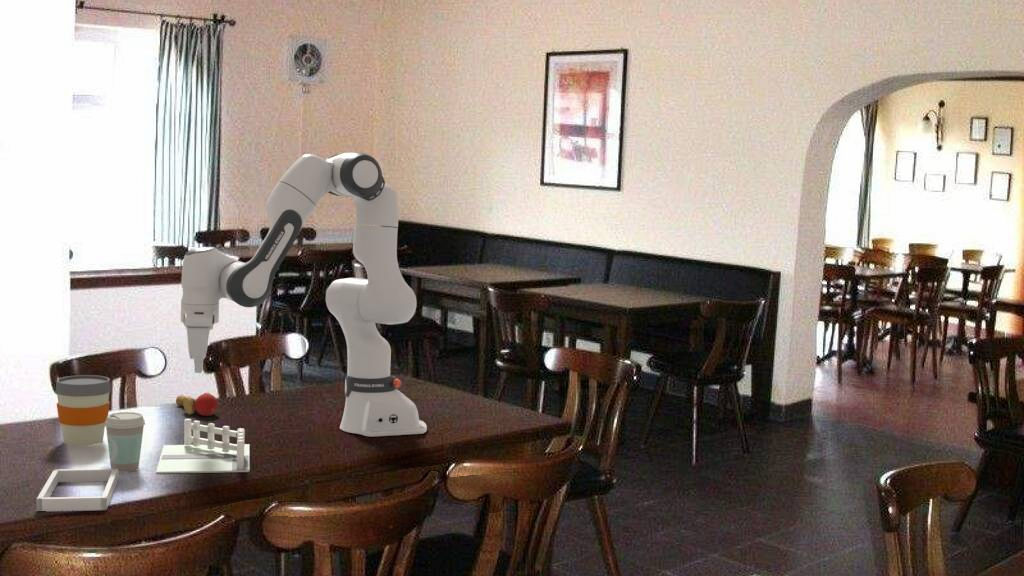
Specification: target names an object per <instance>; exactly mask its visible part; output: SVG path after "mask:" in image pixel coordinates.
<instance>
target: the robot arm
mask: <svg viewBox="0 0 1024 576" xmlns="http://www.w3.org/2000/svg"><path fill="white" fill-rule="evenodd" d="M382 172H383V171H382V168H381V166H380V163H379V162H378V161H377V160H376V159H375V158H374V157H373V156H372V155H370V154H367V153H364V152H354V151H353V152H350V151H349V152H343V153H341V154H334V155H331V156H329V157H326V158H325V159H324V158H323V157H321V156H319V155H317V154H312V153H306V154H303V155H301V156H300V157H299V158H298V159H297V160H296V161H295V162H294V163H293V164H291V165H290V167H289V168H287V170H286V171H285V172H284V173H283V174H282V176H281V177H280V179H279V180H278V182H277V183H276V185H275V186H274V187H273V188H272V190H271V192H270V194H269V196H268V198H267V201H266V203H265V207H266V208H265V210H266V214H267V216H268V219H269V229H268V231H267V234H266V235H265V237H264V239H263V241H262V242H261V244H260V246H259V247H258V248H257V250H256V252H255V253H254V255H253V257H252V258H251V259H250V260H249V261H246V262H243V261H241V260H238V259H235V258H233V257H230V256H228V255H226V254H225V253H223V252H221V251H220V250H218V248H217V247H214V246H202V247H195V248H192V249H190V250H188V251H187V252H186V253H185V254H184V258H183V261H182V268H181V269H182V270H181V281H180V283H181V289H182V297H181V300H180V323H182V324H183V326H184V327H185V329H186V336H187V347H188V356H189V359H191V360H193V363H194V373H196V374H201V373H203V369H204V367H203V366H204V359H205V358H206V356H207V352H208V347H209V338H210V331H212V330H213V329H214V325H215V324H218V323H219V319H220V316H219V315H220V300H221V299H227V300H229V301H231V302H235V303H236V304H237V305H239V306H240V307H243V308H254V307H258V306H260V305H261V304H263V303H265V301H266V300H267V299H268V298H269V295H270V293H271V292H272V287H273V283H274V279H275V275H276V273H277V271H278V270H279V267H280V266H281V264H282V263H283V261H284V260H285V257H286V256H287V255H288V253H289V251H290V249H291V248H292V246H293V244H294V243H295V241H296V239H297V237H298V235H299V233H300V231H301V230H302V228H303V226H304V225H305V224H306V222H307V220H308V219H309V217H310V216H311V214H313V212H314V211H315V209H316V207H317V206H318V204H319V203H320V202H321V200H322V198H323V197H324V196H326V195H327V194H331V195H333V196H338V197H345V198H351V199H352V200H353V202H354V206H355V217H354V219H355V220H354V231H353V246H352V253H353V256H354V258H355V259H356V260H357V261H358V262H359V263H360V264H362V266H364V268H365V272H366V275H367V278H362V277H361V278H358V277H347V278H339V279H335V280H333V281H332V282H331V284H329V286H328V288H327V289H326V293H325V303H326V307H327V309H328V311H329V312H330V313H331V315H333V316H334V317H335V318H336V320H337V321H338V323H339V325H340V327H341V330H342V333H343V335H344V339H345V342H346V351H347V354H346V355H347V373H346V374H345V380H344V395H345V402H344V403H345V404H344V410H343V415H342V417H341V418H342V419H341V422H340V424H339V425H340V426H339V429H340V430H341V431H343V432H345V433H351V434H357V435H361V436H365V437H386V436H387V437H388V436H402V435H404V436H405V435H420V434H424V433H426V432H427V431H428V426H427V424H426V422H424V420H421V419H420V418H419V411H418V408H417V406H416V404H415V403H414V402H413V401H412V400H411V399H410V398H409V397H407V396H406V394H404V393H402V392H401V391H400V390H399V389H398V388H400V387H401V386H402V381H401V380H400V379H399V378H397V376H394V375H393V374H391V361H392V360H391V356H392V348H391V345H390V342H388V340H387V339H385V337H383V336H382V335H381V334H380V332H379V330H378V328H377V326H376V324H381V325H399V324H405V323H408V322H409V321H410V320H411V319H412V318H413V317H414V315H415V313H416V311H417V310H416V309H417V304H418V302H417V296H416V294H415V291H414V290H413V288H412V287H410V286H409V285H408V283H407V282H406V281H405V280H406V279H404V277H403V274H402V272H401V270H400V267H399V262H398V251H397V249H398V231H399V230H398V229H399V201H398V195H397V192H396V191H397V190H396V189H395V188H394V187H392V186H391V185H390V184H388V183H386V180H385V179H384V177H383V173H382Z"/></svg>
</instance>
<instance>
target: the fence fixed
mask: <svg viewBox="0 0 1024 576" xmlns="http://www.w3.org/2000/svg"><path fill="white" fill-rule="evenodd" d="M236 431H237V437H236V444H237V469H238V470H242V469H244V444H245V440H244V436H245V437H246V432H245V431H244V430H238V429H237V430H236Z"/></svg>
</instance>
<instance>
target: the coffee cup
mask: <svg viewBox="0 0 1024 576" xmlns="http://www.w3.org/2000/svg"><path fill="white" fill-rule="evenodd" d="M145 425H146V420H145V419H144V416H143V414H142V413H139V412H131V411H123V412H115V413H110V414H108V416H107V419H106V421H105V427H106V428H105V430H106V437H107V447H108V455H109V456H108V457H109V463H110V469H113V468H118V473H129V472H130V473H131V472H134V471H137V470H138V469H139V467H140V459H141V449H142V442H143V436H144V435H143V433H144V427H145Z"/></svg>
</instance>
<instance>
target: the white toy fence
mask: <svg viewBox="0 0 1024 576" xmlns="http://www.w3.org/2000/svg"><path fill="white" fill-rule="evenodd" d="M183 426H184V428H183V431H184V433H183V434H184V435H183V437H184V438H183V440H184V441H183V445H193V446H195V447H198V446H200V445H207V446H208V448H207V449H211V450H212V449H214V447H218V448H222V452H229V450H234V451H237V445H236V444H237V443H231V442H230V437H233V438H237V431H238V430H244V431H245V428H241V427H239V428H237V430H233V429H230V426H229V425H223V426H222V428H221V427H216V425H215V423H212V422H209V423H207V425H204V424H201V421H200V420H193V421H192V418H185V419H184V425H183ZM201 432H205V433H207V438H202V437H201ZM215 435H221V436H222V437H221V438H222V441H218V440H216V439H215ZM245 439H246V435H245V436H244V441H245Z"/></svg>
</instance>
